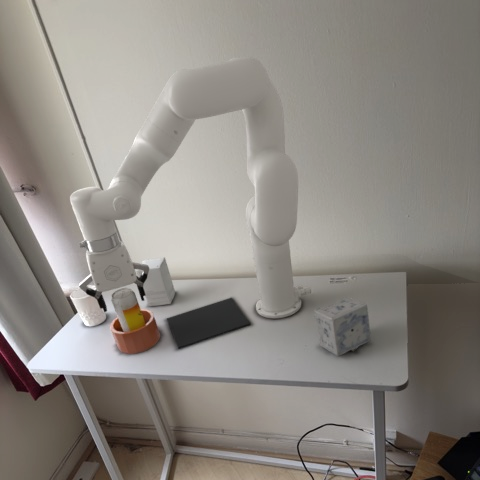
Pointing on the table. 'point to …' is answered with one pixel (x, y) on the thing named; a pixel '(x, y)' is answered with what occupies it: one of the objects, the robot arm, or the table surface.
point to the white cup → (88, 307)
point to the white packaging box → (158, 282)
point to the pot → (136, 335)
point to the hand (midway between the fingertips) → (124, 304)
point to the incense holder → (343, 326)
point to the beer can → (127, 309)
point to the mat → (206, 322)
